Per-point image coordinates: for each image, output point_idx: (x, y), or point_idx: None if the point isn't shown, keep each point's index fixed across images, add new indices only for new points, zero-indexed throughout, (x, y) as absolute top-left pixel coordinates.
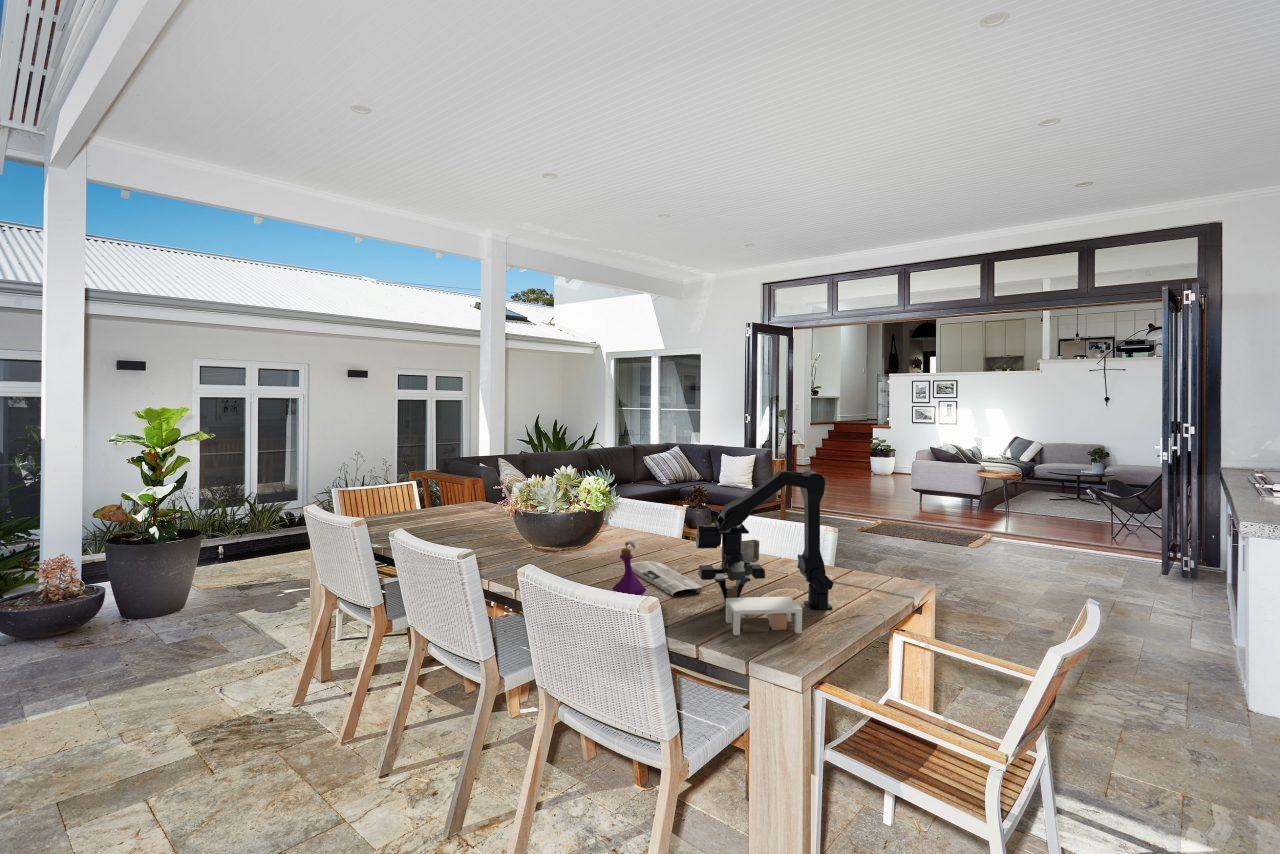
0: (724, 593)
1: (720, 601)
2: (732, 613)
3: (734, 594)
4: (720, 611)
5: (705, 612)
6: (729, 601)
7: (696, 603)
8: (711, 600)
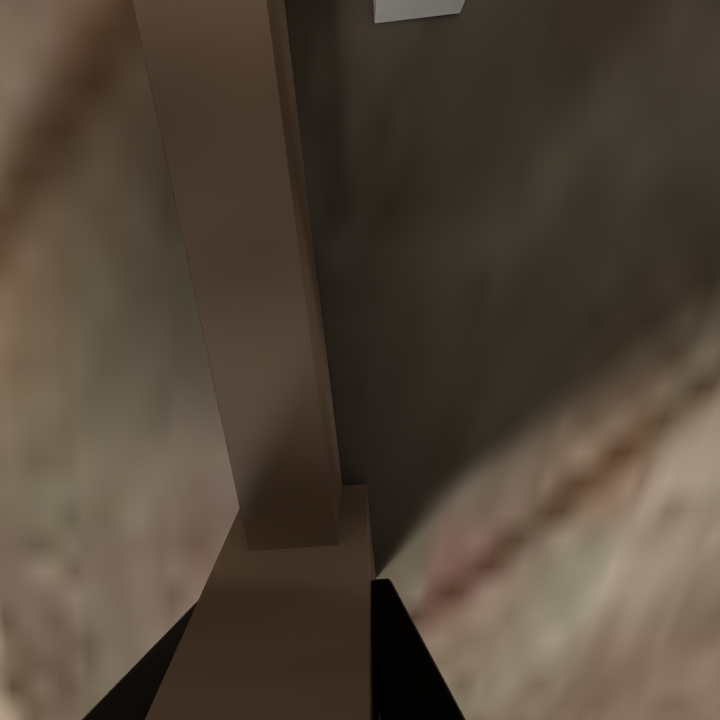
0: (419, 689)
1: None
2: (319, 304)
3: (221, 665)
4: (454, 417)
5: (651, 381)
6: None
7: (662, 633)
8: (484, 701)
